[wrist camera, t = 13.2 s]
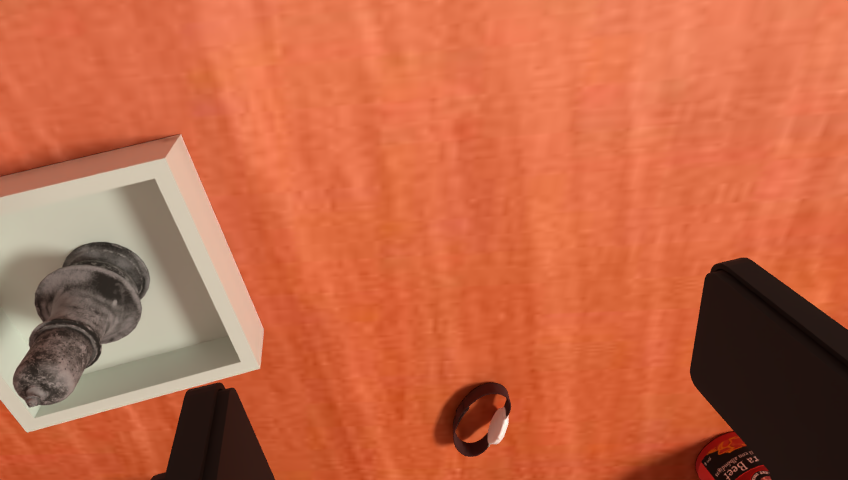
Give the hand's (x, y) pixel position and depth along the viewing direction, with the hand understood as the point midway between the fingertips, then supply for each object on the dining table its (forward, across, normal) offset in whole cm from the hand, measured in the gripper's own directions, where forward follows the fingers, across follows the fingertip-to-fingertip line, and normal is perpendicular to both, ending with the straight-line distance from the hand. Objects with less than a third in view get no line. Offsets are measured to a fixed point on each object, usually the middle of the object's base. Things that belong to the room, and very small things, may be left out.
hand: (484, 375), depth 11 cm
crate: (+28, +19, +10) cm, 35 cm away
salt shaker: (+27, +19, +10) cm, 34 cm away
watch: (+27, -5, +32) cm, 43 cm away
